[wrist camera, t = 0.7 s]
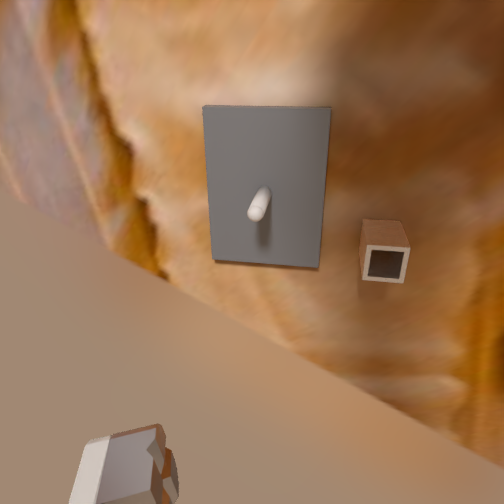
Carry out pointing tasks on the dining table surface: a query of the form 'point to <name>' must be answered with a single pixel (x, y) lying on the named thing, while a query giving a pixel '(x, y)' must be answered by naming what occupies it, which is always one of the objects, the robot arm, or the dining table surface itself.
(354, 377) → the dining table surface
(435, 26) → the dining table surface
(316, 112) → the shaft plate
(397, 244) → the steel sleeve
